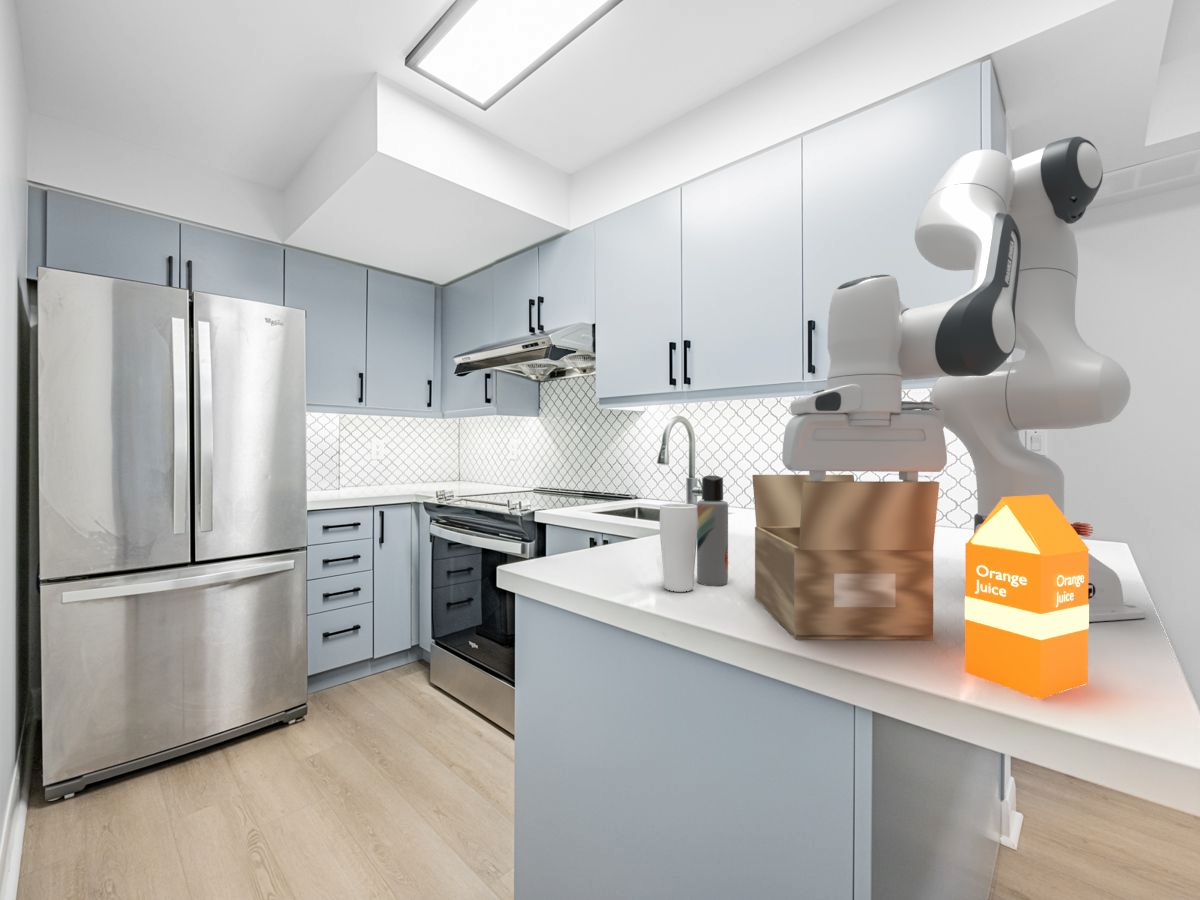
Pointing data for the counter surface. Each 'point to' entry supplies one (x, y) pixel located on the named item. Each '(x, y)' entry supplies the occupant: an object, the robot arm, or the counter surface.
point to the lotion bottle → (712, 533)
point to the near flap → (868, 515)
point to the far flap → (782, 498)
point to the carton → (843, 589)
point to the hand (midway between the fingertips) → (862, 506)
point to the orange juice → (1027, 599)
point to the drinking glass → (678, 545)
